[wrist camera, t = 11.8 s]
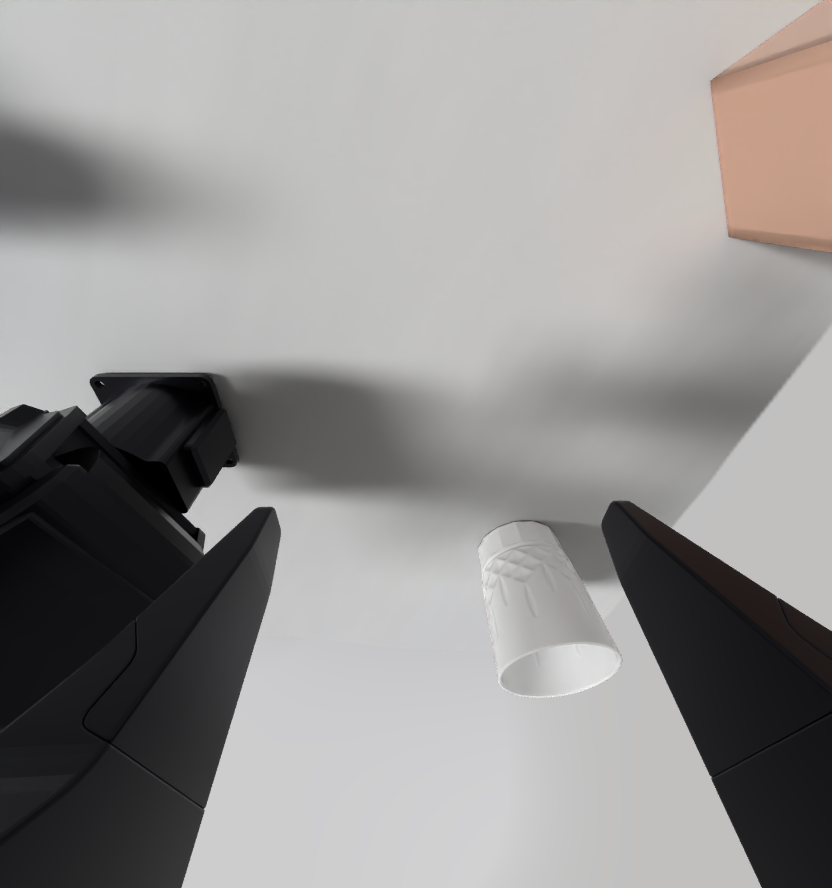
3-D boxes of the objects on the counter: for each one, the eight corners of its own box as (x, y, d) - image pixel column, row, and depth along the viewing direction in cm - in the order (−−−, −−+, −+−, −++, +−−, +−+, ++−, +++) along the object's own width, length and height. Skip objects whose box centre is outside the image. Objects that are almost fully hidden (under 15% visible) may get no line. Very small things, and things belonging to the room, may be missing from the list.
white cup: (551, 502, 28) (615, 630, 20) (570, 557, 33) (628, 681, 24) (457, 533, 30) (481, 664, 22) (487, 583, 34) (516, 706, 26)
